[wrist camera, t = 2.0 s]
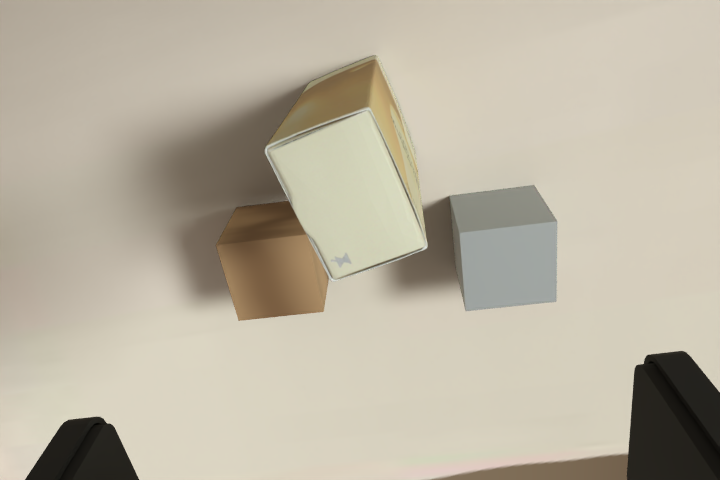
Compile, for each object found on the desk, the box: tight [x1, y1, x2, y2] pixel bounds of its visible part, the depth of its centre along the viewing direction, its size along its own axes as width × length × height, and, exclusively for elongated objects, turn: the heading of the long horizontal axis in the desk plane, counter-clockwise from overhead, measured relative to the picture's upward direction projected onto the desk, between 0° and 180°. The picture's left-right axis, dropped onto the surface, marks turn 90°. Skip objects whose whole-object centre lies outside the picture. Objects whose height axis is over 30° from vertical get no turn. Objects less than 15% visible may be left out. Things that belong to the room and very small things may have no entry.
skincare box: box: [265, 55, 428, 282], centre depth 26 cm, size 6×4×12 cm
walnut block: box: [216, 201, 329, 321], centre depth 33 cm, size 5×5×5 cm
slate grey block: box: [450, 185, 557, 311], centre depth 32 cm, size 5×5×5 cm
